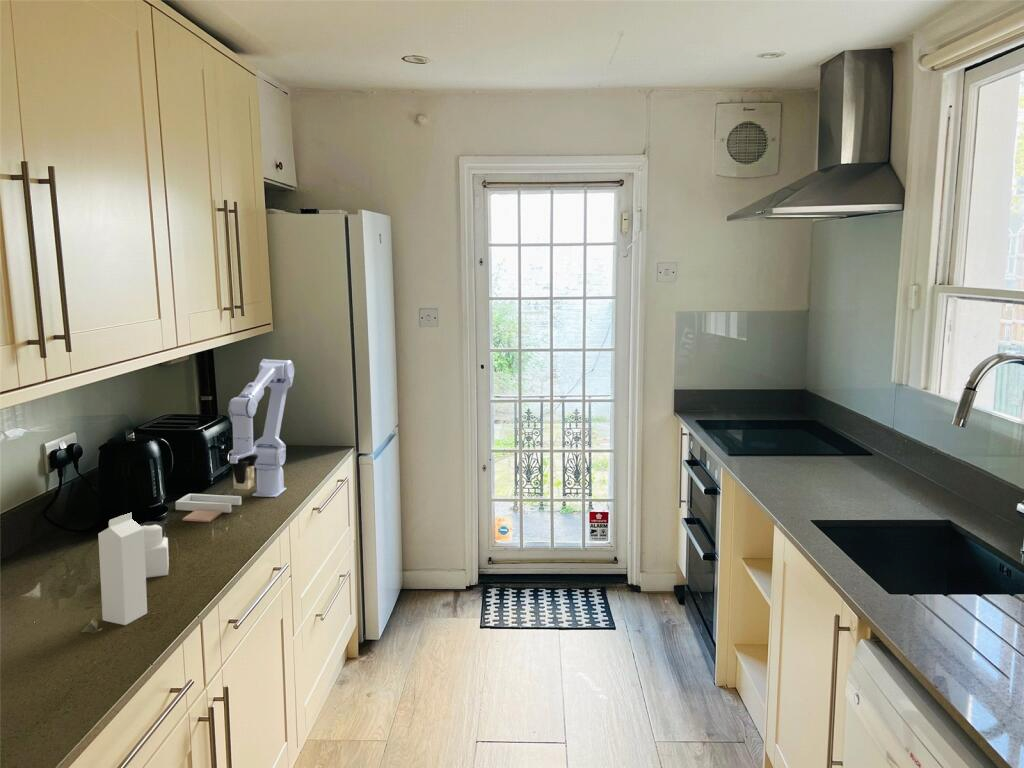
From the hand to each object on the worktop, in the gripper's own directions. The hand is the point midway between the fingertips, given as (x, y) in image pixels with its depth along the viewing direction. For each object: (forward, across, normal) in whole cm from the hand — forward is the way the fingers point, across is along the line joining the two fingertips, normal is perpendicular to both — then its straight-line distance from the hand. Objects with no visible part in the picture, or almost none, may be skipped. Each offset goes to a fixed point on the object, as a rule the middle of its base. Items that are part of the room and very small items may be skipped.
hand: (243, 480), depth 226 cm
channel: (+9, -1, -11) cm, 14 cm away
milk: (+9, +72, +5) cm, 72 cm away
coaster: (+9, +8, -9) cm, 15 cm away
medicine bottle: (+9, +48, -2) cm, 49 cm away
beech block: (+2, 0, 0) cm, 2 cm away
